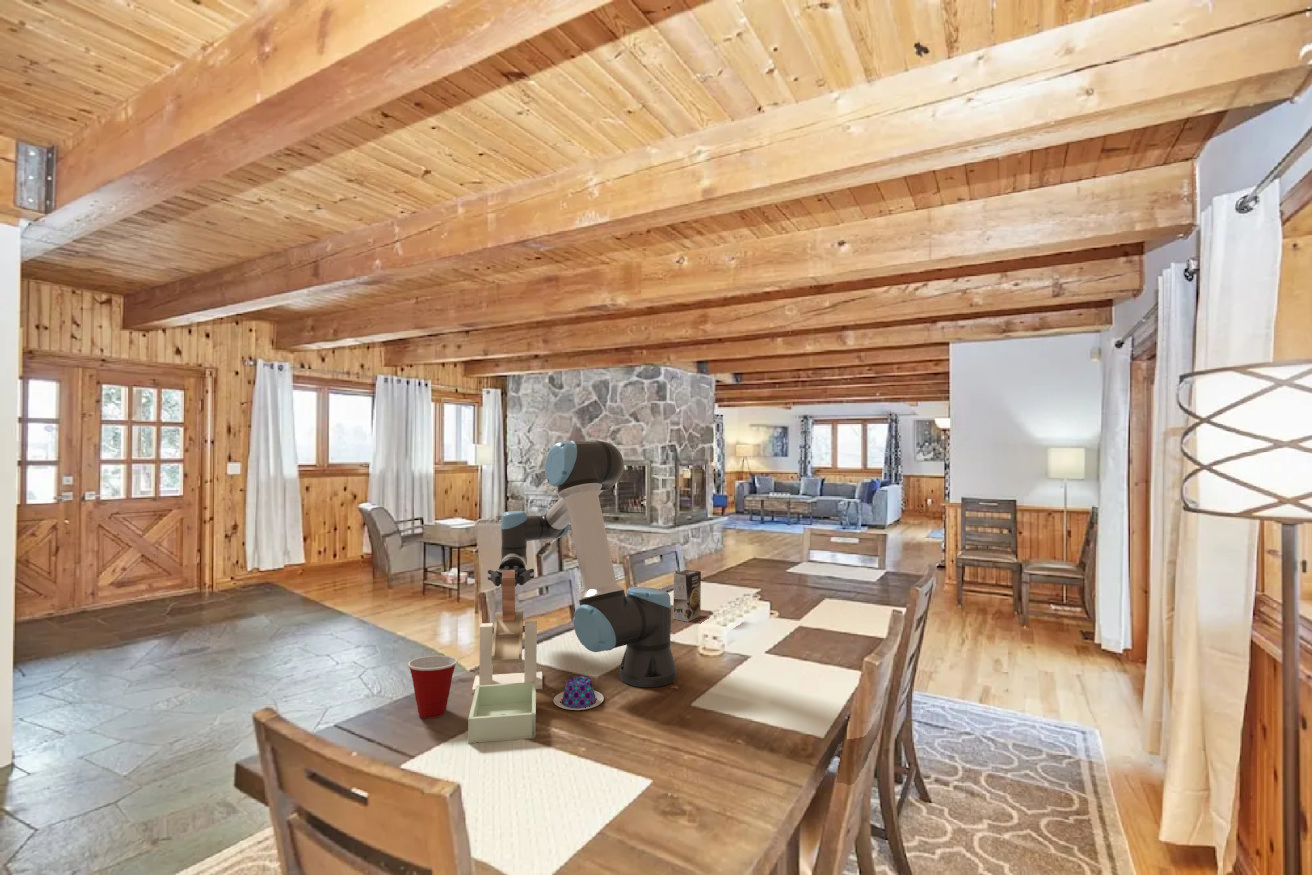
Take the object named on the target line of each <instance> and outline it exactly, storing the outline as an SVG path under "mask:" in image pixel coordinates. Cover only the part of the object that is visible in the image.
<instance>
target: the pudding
mask: <svg viewBox="0 0 1312 875" xmlns="http://www.w3.org/2000/svg"><path fill="white" fill-rule="evenodd" d="M560 697H563V699H562V700H561V699H560ZM595 697H597V700H596V698H595ZM604 698H605V697H604V695H603V694H602V693H600V692H599V691H596V690H594V686H593V682H592V680H591V679H590V678H589V677H587V676H582V675H581V676H573V677H571V678H569V679H567V680H566V683H565V687H564V691H562V692H560V693H557V694H556V695H555V696H554V698H553V703H554V705H556V706H557V707H559V708H562V709H565V710H570V711H571V710H572V711H573V710H574V711H581V710H583V711H584V710H589V709H592V708H595V707H597V706H599V705H601V704H602V703H603V701H604V700H605V699H604ZM559 701H561V703H560V702H559ZM594 701H595V702H596V701H598V702H597V703H595V702H594ZM594 703H595V704H594ZM589 706H590V707H589ZM585 707H586V708H585Z"/></svg>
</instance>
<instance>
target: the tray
mask: <svg viewBox="0 0 1312 875" xmlns="http://www.w3.org/2000/svg"><path fill="white" fill-rule="evenodd" d="M536 691H537V689H536V682H525V683H510V684H494V685H479V686H476V689H475V693H473V698H472V702H471V707H470V710H469V716H468V717H467V718H468V719H467V722H468V725H467V744H477V743H476V742H479V743H489V742H488V741H492V742H500V741H503V742H504V741H515V740H524V739H525V740H526V739H535V738H536V735H537V733H536V731H537V730H536V727H537V726H536V725H537V724H536V723H537V722H536V720H537V712H536V710H537V706H536V704H537V697H536V696H537V692H536ZM501 714H506V715H501Z"/></svg>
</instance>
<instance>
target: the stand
mask: <svg viewBox="0 0 1312 875" xmlns="http://www.w3.org/2000/svg"><path fill="white" fill-rule="evenodd" d="M537 628H538V621H537V620H531V621H530V620H529V621H528V620H527V621H524V625H523V633H524V660H523V661H524V665H523V667H524V672H514V673H513V672H512V673H499V674H493V671H494V670H493V669H494V668H493V666H494V664H491V658H492V645H493V633H494V622H488V623H487V622H486V623H483V622H482V623H480V626H479V672H478V673H479V675H475V676H474V681H473V684H472V689H471V694H474V693H475V689H476V686H479V685H494V684H510V683H525V682H536V690H543V671H537V663H538V661H537V657H538V656H537V651H538V650H537V649H538V648H537V646H538V645H537V642H538V641H537V640H538V637H537V636H538V633H537V632H538V629H537Z"/></svg>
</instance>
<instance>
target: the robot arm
mask: <svg viewBox="0 0 1312 875" xmlns="http://www.w3.org/2000/svg"><path fill="white" fill-rule="evenodd" d="M624 466H625V462H624V458H623V455H622V453H621V451H620V450H619V449H618V448H617V446H615V445H614V444H612V443H610V442H609V441H608V442H607V441H603V440H602V441H601V440H597V441H595V440H594V441H593V440H592V441H590V440H589V441H587V440H586V441H584V440H581V441H580V440H578V441H577V440H568V441H559V442H557V443H555V444H554V445H553V446H551V447H550V450H549V451H548V452H547V456H546V458H545V464H544V473H545V478H546V481H547V482H548V483H549V484H550V485H551V486H553V487H557V493H558V496H559V497H560V498H559V499H558V500H557V501H556V502H555V503H554V505H552V506H551V508H550V509H549V510H548V511H547V512H546V513H545V514H543V515H542V514H541V515H531V516H529V515H527V512H526V511H524V510H511V511H505V512H503V513H502V514H501V521H500V522H501V524H500V529H501V530H500V532H501V533H500V534H501V550H500V552H501V556H500V558H501V561H500V564H499V567H498V568H497V569H496V570H492V569H488V570H487V580H488V581H491V583H492V584H493V585H494V586H495V587H499V586H500V588H502V570H515V588H516V587H517V585H518V586H523V585H525V584H527V582H529V581H530V580H532V579H534V578H535V569H534V568H530V569H526V568H527V566H528V556H527V546H528V544H527V542H531V541H539V540H549V539H558V538H562V537H566V536H567V535H568V533H569V530H570V529H571V534H572V539H573V545H574V550H575V555H576V560H577V564H578V570H579V574H580V576H579V577H580V580H581V585H582V586H581V587H582V594H581V595H580V597H579V598H578V603H579V606H578V607H577V608H576V609H575V610H574V613H573V620H572V621H573V622H572V624H573V629H574V632H575V635H576V636H577V640H578V641H579V642H580V644H581V645H582V646H583V647H585V648H586V649H587V650H588V651H589V652H593V653H600V652H605V651H606V652H608V651H612V650H614V649H616V648H620V647H624V646H626V647H625V651H624V654H623V657H622V659H621V663H620V667H619V679H620V681H622V682H623V683H625V684H626V685H629V686H631V687H639V688H657V687H658V688H659V687H663V686H667V685H670V684H672V683H673V682H675V681H676V679H677V678H678V677H677V675H678V669H677V665H676V663H675V659H674V655H673V651H672V649H671V632H672V631H671V628H672V627H671V626H672V625H671V624H672V623H671V622H672V621H671V619H672V606H671V595H670V594H669V592H667V591H665V590H663V589H660V588H659V589H658V588H653V587H645V586H632V587H628V589H626V592H625V588H624V587H621V586H620V585H619V584H618V583H617V579H616V573H615V570H614V564H613V560H612V555H611V551H610V545H609V540H608V536H607V532H606V526H605V522H604V517H603V512H602V506H601V502H600V497H599V495H600V494H602V492H606V491H609V490H611V489H612V488H613V486H615V485H616V484H617V482H618V481H620V479H621V478H622V475H623V472H624V468H625V467H624Z"/></svg>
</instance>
